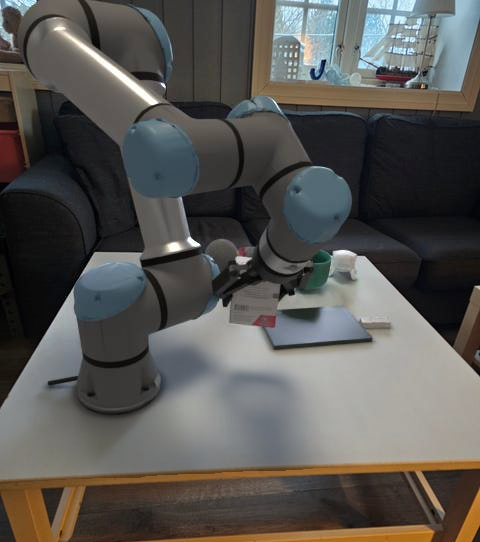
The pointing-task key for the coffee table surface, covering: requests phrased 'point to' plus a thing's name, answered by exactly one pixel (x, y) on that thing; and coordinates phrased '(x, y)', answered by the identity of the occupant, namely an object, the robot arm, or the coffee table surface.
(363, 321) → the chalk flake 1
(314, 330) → the slate board
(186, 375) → the coffee table surface
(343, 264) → the white figurine
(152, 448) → the coffee table surface
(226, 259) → the decorative ball
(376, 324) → the chalk flake
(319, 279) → the mug
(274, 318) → the ink box
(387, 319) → the chalk flake
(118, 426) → the coffee table surface
